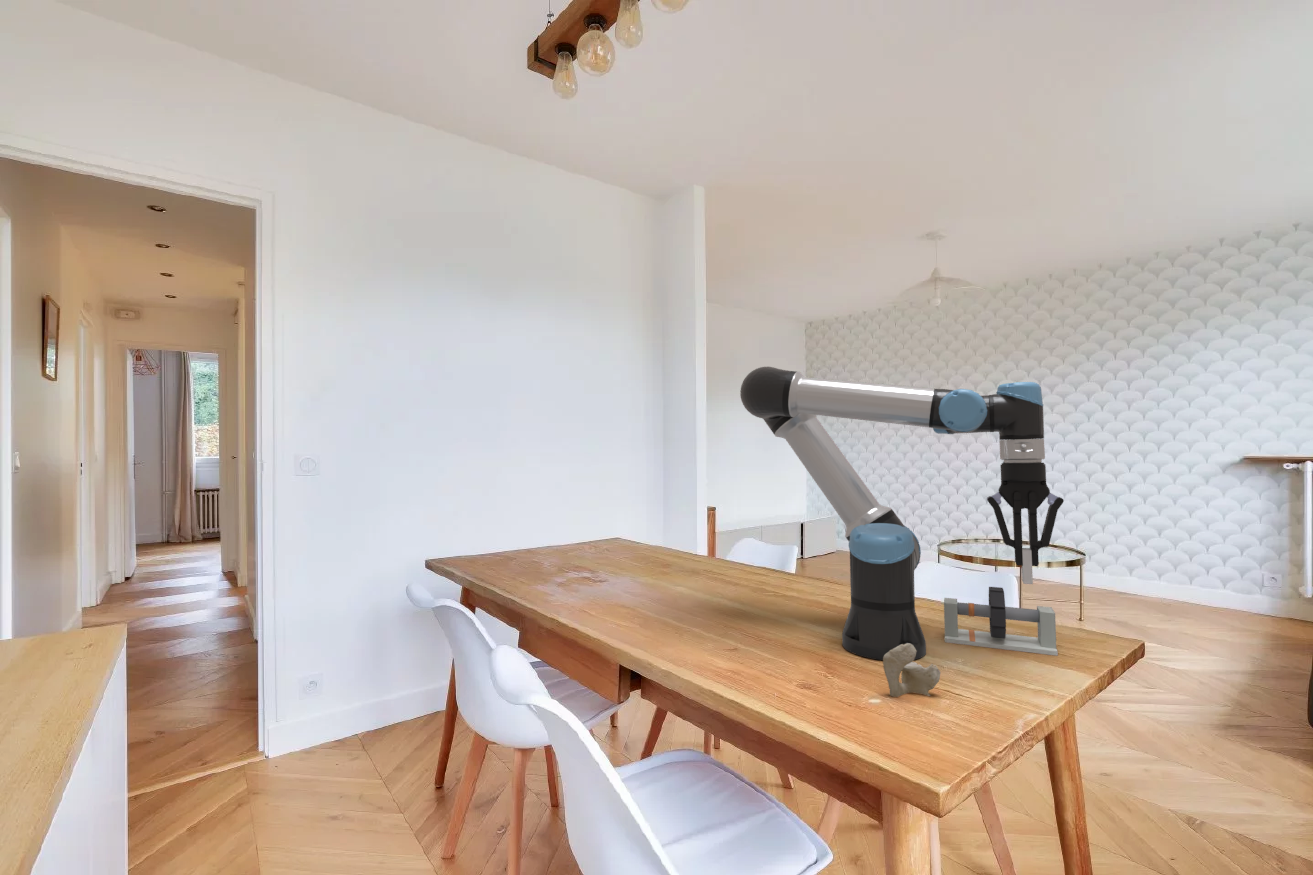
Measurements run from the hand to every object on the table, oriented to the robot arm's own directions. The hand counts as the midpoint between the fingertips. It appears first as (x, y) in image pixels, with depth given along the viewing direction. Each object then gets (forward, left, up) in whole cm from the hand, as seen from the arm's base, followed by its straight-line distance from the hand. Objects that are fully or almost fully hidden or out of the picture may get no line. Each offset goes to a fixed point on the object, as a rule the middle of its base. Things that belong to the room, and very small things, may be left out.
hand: (1027, 582), depth 115 cm
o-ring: (-5, 0, -11) cm, 12 cm away
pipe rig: (-5, 0, -12) cm, 13 cm away
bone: (-19, -33, -13) cm, 40 cm away
